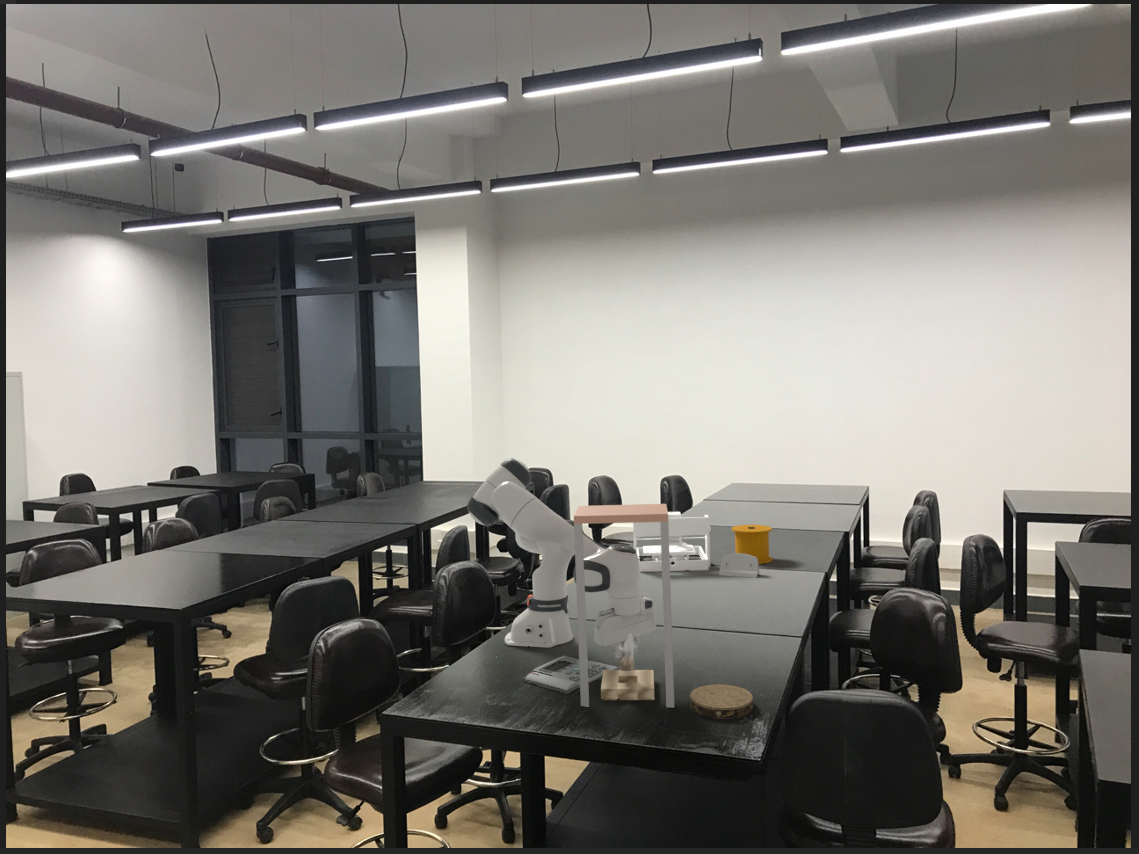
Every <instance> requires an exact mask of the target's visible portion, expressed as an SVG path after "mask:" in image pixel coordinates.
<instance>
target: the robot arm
mask: <svg viewBox="0 0 1139 854" xmlns="http://www.w3.org/2000/svg"><path fill="white" fill-rule="evenodd" d="M531 482H532V474H531V472H530V470H529V468H528V467H527V465H526V464H525V463H523V462H522V461H520V460H519V459H515V458H513V457H511V458H507V459H505V460H504V461H502V462H501V463H500V465H499V466H497V468H496V469H495V470H493V471H492V473H491V474H489V476H487V477H486V479H485V481H484V482H483V483H482V484H481V485H480V486H479V488H478V489H477V491H476V492H474V495H473V496H471V497H470V498H469V501H468V503H467V504H466V509H467V511H468V513H469V515H470V517H471V518H472V520H473V521H474V522H476V524H477V523H478V525H479V524H480V525H482V526H485V527H490V526H491V527H492V526H493V525H495V524H496V523H498V522H500V521H499V519H500V520H501V521H503V523H505V524H506V525H507V526H508V527H509V528H510V529H511V530H512V531H513V532H514V533H515V535H514V537H515V542H516V544H517V546H518V547H519V548H521V549H523V550H525V551H527V552H529V553H532V554H536V555H537V554H539V555H541V562H540V566H539V567H537V568H536V569H534V571H533V573H532V575H531V577H532V578H531V579H532V594H529V595H528V596H527V598H526V602H527V604H526V605H527V608H526V609H524V610H523V611H522V612H521V613H520V614H519V615H517V616H516V617H515V619H514V620H513V622H512V624H511V630H510V632H508V633H507V634H506V635H505V637H504V643H505V644H506V645H507V646H512V647H513V646H514V647H528V646H529V647H531V648H533V647H534V648H548V649H550V648H552V647H555V646H557V645H562V644H565V643H566V644H567V643H568V642H570V641H572V640H573V639H574V634H573V632H572V628H571V624H570V618H569V611H570V604H569V603H570V602H569V595H568V594H567V571H568V567H569V564H570V561H571V559H572V558H573V557H575V538H574V524H572V523H571V522H569V521H568V520H566V519H564V518H563V517H562V516H560V515H559V514H557V513H556V512H555V511H554V510H552V509H551V508H549V506H547V505H546V504H545V503H543V502H542V500H540V499H539V498H538V497H537V496H536V495H534V494H533V493H531V492H530V491H529V490H527V488H528V487H529V485H530V484H531ZM583 554H584V580H585V593H599V592H604V591H605V592H607V603H608V604H607V605H608V606H607V607H608V609H606V610H600V612H598V614H597V616H596V617H595V622H594V623H595V624H594V631H593V632H594V633H593V641H594V643H595V645H596V646H598V647H601V648H607V647H609V646H611V648H612V649H613V651H614V658H616V659H618V660H619V658H622V657H623V651H620V649H619V646H620V642H623V641H626V640H627V638H628V635H627V634H631V633H633V645H634V654H637V653H638V646H639V644H640V642H641V637H642V636H644V635H648V634H652V633H653V632H655V630H656V628H657V618H656V617H657V616H656V610H655V608H654V607H655V605H656V603H655V600H654V599H652V598H649V597H645V596H642V594H641V589H640V579H641V572H640V568H639V559H638V555H637V552H636V550H635V549H634V547H632V546H630V545H628V544H623V543H621V544H620V543H619V544H618V543H617V544H616V543H615V544H614V543H613V544H611V545H609V546H608V547H607V546H604V545H602V544H600V543H598V542H596V541H595V540H594V539H592V538H591V537H590V536H589V535H587V534H586V533H584V532H583ZM572 575H573V579H574V580H573V581H574V583H575V584H576V565H575V567H574V568H573V572H572Z"/></svg>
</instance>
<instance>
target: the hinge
mask: <svg viewBox="0 0 1139 854" xmlns="http://www.w3.org/2000/svg"><path fill="white" fill-rule="evenodd" d="M759 565H760V564H758V559H757V558H756V557H754V556H751V555H747V554H741V553H730V554H725V555H723V556H722V557H721V561H720V567H719V571H718V572H719V573H718V576H725V577H728V576H729V577H743V578H754V577H757V578H758V576H760V566H759Z"/></svg>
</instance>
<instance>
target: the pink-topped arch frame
mask: <svg viewBox="0 0 1139 854" xmlns="http://www.w3.org/2000/svg"><path fill="white" fill-rule="evenodd" d="M668 512H669V511H668V507H667V503H650V504H649V503H646V504H645V503H644V504H640V503H639V504H638V503H637V504H608V505H606V504H603V505H601V504H599V505H578V507H577V508H576V510H575V513H574V514H573V525H574V538H575V555H574V558H575V559H574V560H575V561H574V563H575V566H576V583H575V585H576V608H577V609H576V613H577V637H578V641H577V642H578V659H579V668H580V689H579V690H580V693H579V694H580V707H581V706H585V707H589V708H590V692H589V691H590V689H589V684H588V637H587V611H586V610H587V609H586V592H585V580H584V554H583V533H584V532H583V530H584V529H583V524H627V523H628V524H630V523H631V524H633V523H636V522H660V528H661V536H660V538H661V539H660V546H661V558H662V560H661V561H662V571H661V578H662V579H661V581H662V582H661V584H662V585H661V587H662V612H663V613H662V615H663V617H662V618H663V619H662V621H663V644H664V645H663V646H664V671H665V672H664V677H665V681H664V682H665V706H666V708H675V688H674V687H675V684H674V657H673V655H674V654H673V652H674V651H673V628H672V627H673V626H672V625H673V624H672V623H673V622H672V620H673V619H672V595H671V594H672V593H671V591H672V590H671V571H670V558H671V556H669V525H668Z"/></svg>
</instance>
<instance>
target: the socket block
mask: <svg viewBox="0 0 1139 854" xmlns="http://www.w3.org/2000/svg"><path fill="white" fill-rule="evenodd" d="M654 674H655V673H654V669H634V670H632V671H622V670H620V669H618V670H603V677H602V678H601V684H600V698H601V699H604V700H603V701H618V700H617V699H620V700H619V701H655V682H654V681H655V678H654ZM601 699H600V700H601Z"/></svg>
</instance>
